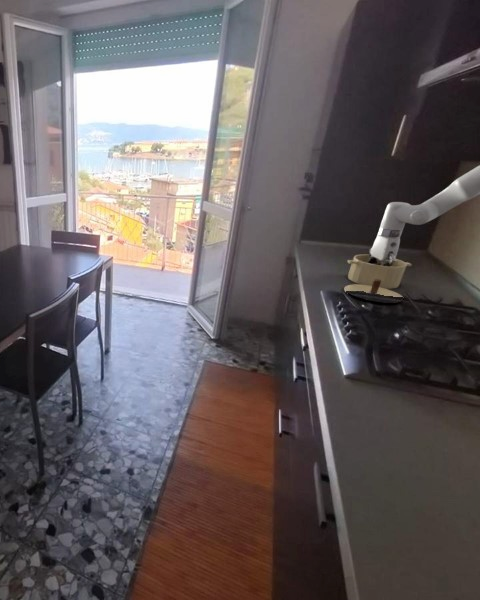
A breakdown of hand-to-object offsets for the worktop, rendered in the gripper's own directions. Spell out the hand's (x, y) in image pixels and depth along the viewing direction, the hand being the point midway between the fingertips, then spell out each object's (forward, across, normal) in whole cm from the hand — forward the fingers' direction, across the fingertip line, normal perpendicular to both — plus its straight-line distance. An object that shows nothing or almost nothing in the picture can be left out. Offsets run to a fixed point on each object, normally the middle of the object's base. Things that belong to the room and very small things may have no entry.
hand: (375, 272), depth 156 cm
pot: (+4, 0, 0) cm, 4 cm away
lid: (+4, -18, +9) cm, 20 cm away
